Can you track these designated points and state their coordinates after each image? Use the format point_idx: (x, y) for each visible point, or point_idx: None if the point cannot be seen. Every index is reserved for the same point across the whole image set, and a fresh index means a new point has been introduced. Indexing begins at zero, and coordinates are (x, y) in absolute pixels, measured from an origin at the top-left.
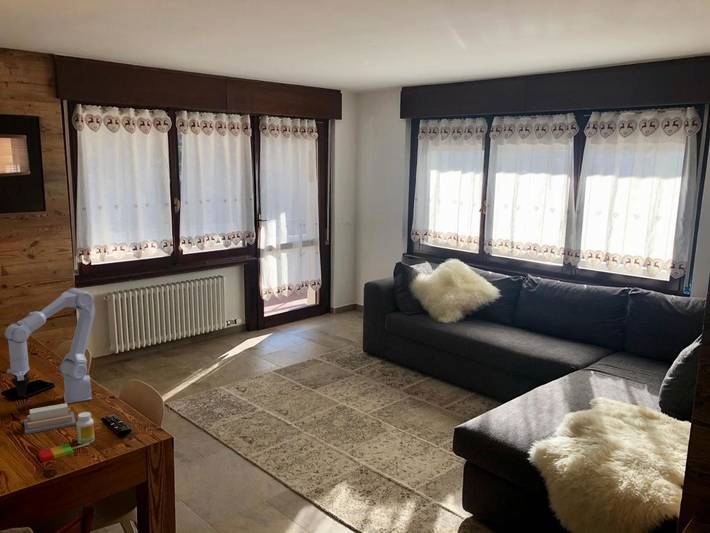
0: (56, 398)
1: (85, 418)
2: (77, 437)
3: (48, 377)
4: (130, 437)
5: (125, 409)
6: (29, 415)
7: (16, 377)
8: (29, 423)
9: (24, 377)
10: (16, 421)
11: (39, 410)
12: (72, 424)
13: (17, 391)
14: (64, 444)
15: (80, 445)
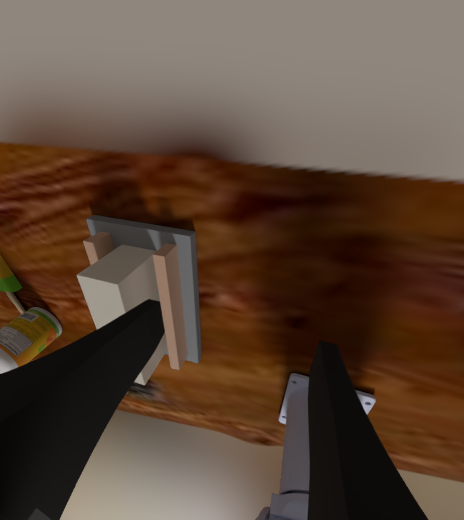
0: (377, 374)
1: None
2: (21, 316)
3: None
4: None
5: (178, 419)
6: (162, 264)
7: (335, 485)
8: (88, 248)
9: (314, 497)
10: (221, 205)
11: (99, 309)
12: None
13: (105, 326)
14: (4, 285)
15: (18, 306)
